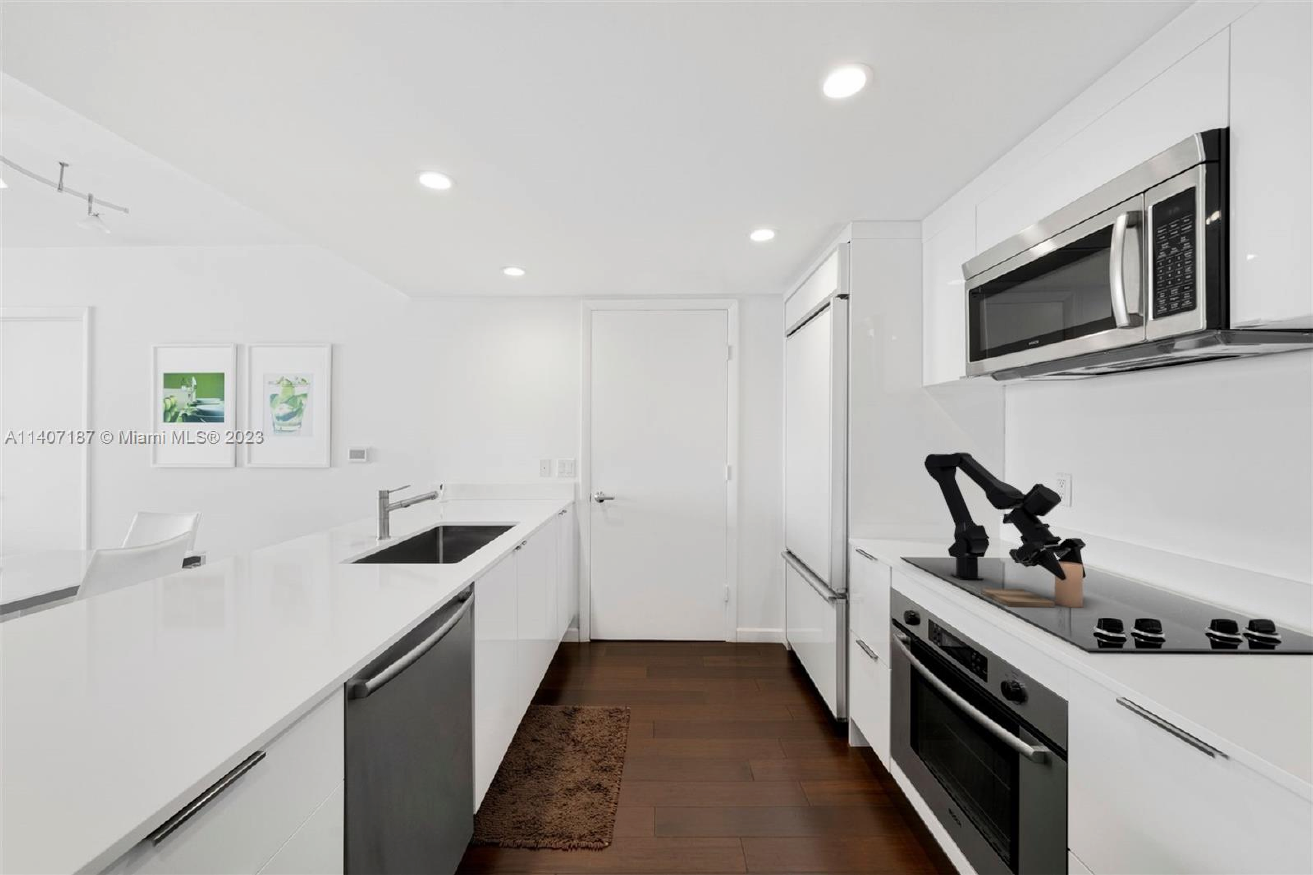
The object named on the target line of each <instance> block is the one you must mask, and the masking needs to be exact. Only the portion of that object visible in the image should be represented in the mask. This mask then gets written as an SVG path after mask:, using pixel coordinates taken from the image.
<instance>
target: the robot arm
mask: <svg viewBox="0 0 1313 875" xmlns="http://www.w3.org/2000/svg"><path fill="white" fill-rule="evenodd" d="M923 462H924V467H925V470H926V471H927V473H928V474H929V476H930V477H931V478H932V479H933V480H935V481H936V482H937V483H938V486H939V487H940V488H939V489H940V491H941V493H942V495H943V499H944V501H945V503H946V505H947V508H948V511H949V512H950V516H951V517H952V521H953V523H954V526H955V527H954V528H955V529H954V533H953V537H954V542H953V544H951V546H949V547H948V548H947V551H948V555H949V557H951V558H955V572H950V575H951V576H953V577H954V578H955V577H956V578H957V579H960V580H968V581H969V580H970V581H971V580H978V581H979V580H981V581H983V580H984V577H982V576H979V559H978V558H984V557H985V555H986V552H987V550H989V549H988V548H989V546H990V542H989V539H990V536H989V535H988V534H987V531H986V527H985V526H984V525H983V524H982V525H978V524H977V523H975V521H974V520H973V517H972V515H971V513H970V511H969V508H968V506H967V503H966V501H965V499H964V496H963V494H962V492H961V489H960V487H959V484H958V482H957V479H956V476H957V475H956V474H957V468H958V469H960V470H961V471H962V472H963V473H964V474H965V475H966V476H967V477H968V478H970V480H972V481H973V482H974V483H975V484H977V486H978V487H980V488H981V490H982V491H983V492H984V494H985V497H986V499H987V500H988V502H989V504H991V505H992V507H993V508H994V509H996V510H1000V511H1001V510H1011V511H1010V512H1009V513H1003V518H1002V524H1003V525H1009V524H1010V525H1011V524H1012V525H1013V526H1014V527H1015V528H1016V529H1017V530H1018V532H1020V534H1021V536H1020V537H1019V538H1020V541H1021V543H1023V544H1022V545H1021V546H1019V547H1018V548H1010V550H1009V552H1008V555H1009V556H1010V557H1011V559H1012V560H1013V561H1014V563H1015V564H1021V565H1022V566H1024V567H1025V568H1028V567H1036V566H1040V567H1041V568H1043V569H1045V570H1047V571H1048V572H1049V573H1051V574H1052V575H1054V577H1055V576H1057V577H1058V578H1059V579H1061V580H1065V579H1066V576H1065V574H1064V571H1063V570H1062V568H1061V566H1060V564H1059V562H1058V561H1063V562H1073V563H1078V564H1082V565H1083V579H1085V578H1086V576H1087V574H1086V571H1085V567H1084V563H1083V558H1082V552H1081V551H1082V549H1084V548H1085V547H1086V545H1087V544H1086V543H1085V542H1084V541H1083V539H1081V538H1078V537H1072V538H1070V537H1069V538H1065V539H1064V540H1063V539H1062V538H1061V536H1056V535H1054V534H1053V533H1052V532H1051V531H1050V528H1051V526H1050V524H1049V523H1044V522H1042V520H1041V519H1040V518H1039V517H1045V516H1047V515H1048V514H1049V513H1050V512H1051V511H1052V510H1054V508H1055V507H1057V505H1059V504H1060V503H1061V502H1062V498H1061V496H1060V494H1059V493H1057V492H1056V491H1055V490H1052V489H1051V488H1050V487H1047V486H1045V485H1044V484H1043V483H1035V484H1034V485H1033V487H1032V488H1031V489H1030V490H1029V491H1028V492H1027V493H1023V492H1022V491H1021V490H1020V489H1018V488H1016V486H1015V487H1014V486H1013V485H1011V484H1008V483H1006V482H1004V481H1001V480H1000V479H999V478H997V477H996V476H995V475H994V474H992V473H991V472H990V471H988V469H987V468H986V467H984V466H983V465H982V464H981V463H979V461H977V460H976V459H975V458H974V457H973V455H971V454H970V453H969V452H961V451H960V452H959V451H958V452H954V453H950V454H949V453H930V454H928V455H927V456H926V457H925V460H924V461H923ZM1062 540H1063V541H1062ZM1061 541H1062V542H1061ZM1060 542H1061V543H1060ZM1057 557H1058V558H1057Z"/></svg>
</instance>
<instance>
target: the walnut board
mask: <svg viewBox="0 0 1313 875" xmlns="http://www.w3.org/2000/svg"><path fill="white" fill-rule="evenodd" d="M980 594H981V595H983V596H985V597H988V598H990V599H992V600H994V601H995V602H998V603H1000V604H1003V605H1005V606H1007V607H1008V608H1012V607H1013V608H1056V603H1055V601H1054V600H1050V599H1048V598H1045V597H1042V596H1040V595H1038V594H1035V593H1033V592H1030V591H1028V590H1026V589H1021V588H1020V589H1008V588H1007V589H1006V588H1005V589H1004V588H1003V589H1002V588H999V589H998V588H997V589H996V588H981V589H980Z"/></svg>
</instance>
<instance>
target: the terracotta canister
mask: <svg viewBox="0 0 1313 875" xmlns="http://www.w3.org/2000/svg"><path fill="white" fill-rule="evenodd" d="M1058 562H1059V564H1060V566H1061V568H1062V570H1063V571H1064V574H1065V576H1066V579H1065V580H1061V579H1059V578H1058V577H1057V576H1055V575H1054V602H1055V605H1056V604H1057V605H1058V606H1062V607H1070V608H1083V606H1084V588H1083V587H1084V585H1083V584H1084V582H1083V581H1084V578H1083V566H1084V564H1083V565H1082V564H1078V563H1073V562H1063V561H1058Z"/></svg>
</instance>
